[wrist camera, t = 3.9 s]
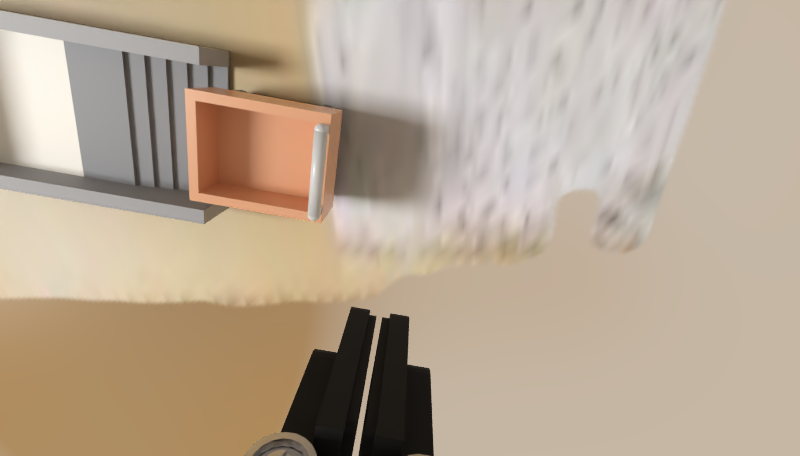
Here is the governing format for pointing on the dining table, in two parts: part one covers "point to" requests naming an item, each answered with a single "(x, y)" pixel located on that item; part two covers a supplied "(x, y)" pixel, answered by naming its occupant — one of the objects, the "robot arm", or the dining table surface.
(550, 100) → the dining table surface
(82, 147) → the drawer housing
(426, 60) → the dining table surface
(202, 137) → the orange drawer with handle
